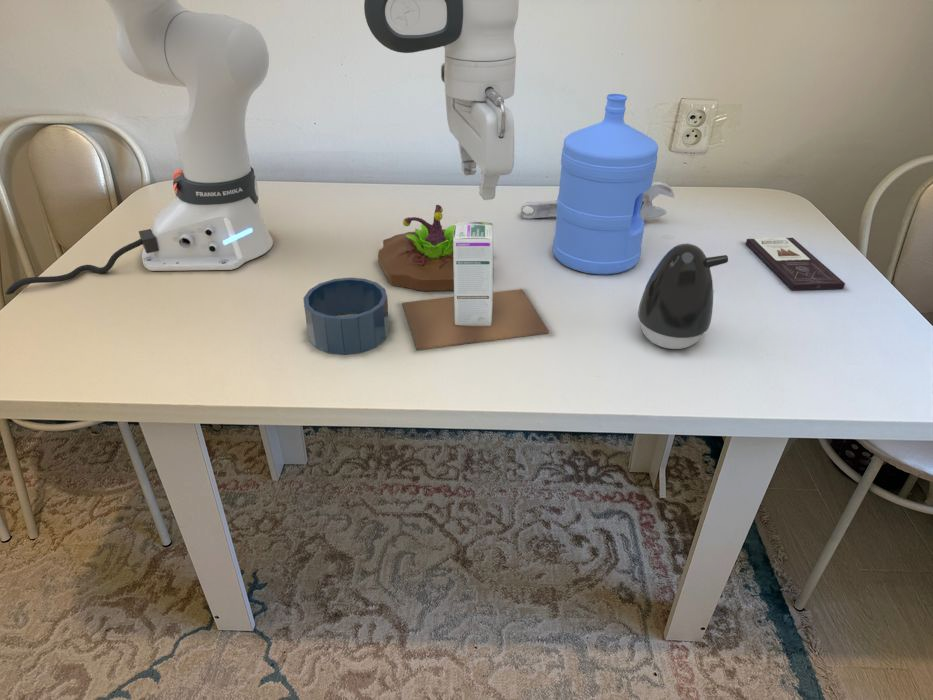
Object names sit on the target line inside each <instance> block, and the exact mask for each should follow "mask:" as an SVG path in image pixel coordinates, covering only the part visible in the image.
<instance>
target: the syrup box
mask: <svg viewBox="0 0 933 700" xmlns="http://www.w3.org/2000/svg"><path fill="white" fill-rule="evenodd" d="M454 225H455V228H454V233H453V264H454V290H453V297H454V319H455V325H459V326H491V324H492V302H493V292H494V224H493V223H492V222H487V221H485V222H484V221H461V222H455V223H454Z"/></svg>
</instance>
